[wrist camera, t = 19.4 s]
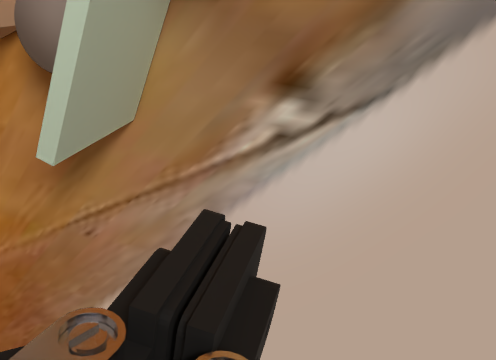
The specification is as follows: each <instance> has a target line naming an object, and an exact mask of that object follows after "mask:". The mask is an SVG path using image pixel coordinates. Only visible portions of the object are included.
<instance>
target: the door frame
mask: <svg viewBox="0 0 496 360" xmlns="http://www.w3.org/2000/svg"><path fill="white" fill-rule="evenodd" d="M15 2H16V0H0V38H3V37H4V36H6V35H8V34H10V33H12V32H14V31H16V26H15V20H14V8H15Z"/></svg>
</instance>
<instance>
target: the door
mask: <svg viewBox="0 0 496 360" xmlns="http://www.w3.org/2000/svg"><path fill="white" fill-rule="evenodd" d="M169 3H170V0H67V2H66V7H65V12H64V17H63V22H62V27H61V32H60V37H59V42H58V48H57V53H56V58H55V63H54V68H53V73H52V78H51V83H50V88H49V93H48V98H47V103H46V108H45V113H44V119H43V124H42V129H41V134H40V139H39V144H38V149H37V154H36V157H37V158H39V159H40V160H42V161H44V162H46V163H48V164H50V165H52V166H54V165H56V164H58V163H60V162H61V161H63V160H65V159H67V158H68V157H70V156H72V155H74V154H75V153H77V152H79V151H81V150H82V149H84V148H86V147H88V146H89V145H91V144H93V143H95V142H96V141H98V140H100V139H102V138H103V137H105V136H107V135H109V134H110V133H112V132H114V131H115V130H117V129H119V128H121V127H122V126H124V125H126V124H128V123H129V122H131V121H133V120H134V118H135V114H136V111H137V108H138V105H139V101H140V98H141V95H142V91H143V88H144V85H145V82H146V78H147V75H148V72H149V68H150V65H151V62H152V59H153V55H154V52H155V49H156V45H157V42H158V39H159V36H160V32H161V29H162V26H163V22H164V19H165V16H166V13H167V9H168V6H169Z"/></svg>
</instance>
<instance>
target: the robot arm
mask: <svg viewBox="0 0 496 360" xmlns="http://www.w3.org/2000/svg"><path fill="white" fill-rule="evenodd" d="M230 229H231V223H230V222H227V221H225V215H223V214H220V213H216V212H213V211H209V210H206V209H204V210H203V211H202V212H201V213H200V215H199V216H198V217H197V219H196V220H195V221H194V222H193V224H192V225H191V226H190V228H189V229H188V230H187V231H186V233H185V234H184V235H183V237H182V238H181V239H180V241H179V242H178V243H177V244H176V246H175V247H174V248H173V250H172V251H169V250H166V249H163V248H159V249H157V250H156V251H155V252H154V253H153V255H152V256H151V257H150V258H149V260H148V261H147V262H146V263H145V264H144V266H143V267H142V268H141V269H140V270H139V272H138V273H137V274H136V275H135V276H134V278H133V279H132V280H131V281H130V282H129V284H128V285H127V286H126V287H125V288H124V290H123V291H122V292H121V293H120V294H119V296H118V297H117V298H116V299H115V300H114V302H113V303H112V304H111V305H110V306H109V308H108V309H107V310H106V309H103V308H93V307H90V308H82V309H78V310H75V311H72V312H69V313H67V314H66V315H64V316H63V317H61V318H59V319H58V320H57V321H56V322H55V323H53V324H52V325H51V326H50V327H48V328H47V329H46V330H45V331H43V332H42V333H41V334H40V335H38V336H37V337H36V338H35V339H33V340H32V341H31V342H30V343H29V344H27V345H26V346H23V347H19V348H15V349H11V350H7V351H3V352H0V360H260V357H261V354H262V351H263V347H264V345H265V341H266V338H267V335H268V332H269V328H270V325H271V321H272V317H273V314H274V310H275V306H276V302H277V298H278V294H279V290H280V284H277V283H273V282H270V281H267V280H264V279H260V278H257V277H256V276H257V271H258V266H259V262H260V257H261V253H262V248H263V243H264V239H265V234H266V227H265V226H262V225H258V224H255V223H251V222H248V221H246V222H245V223H244V225H243V226H241V225H238V224H237V225H235V227H234V229H233V230H232V232H231V234H230Z"/></svg>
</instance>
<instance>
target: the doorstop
mask: <svg viewBox="0 0 496 360" xmlns="http://www.w3.org/2000/svg"><path fill="white" fill-rule="evenodd" d="M66 2H67V0H16V2H15V8H14V20H15V26H16V31H17V34H18V37H19V39H20V41H21V44H22V45H23V47H24V49H25V51H26V52H27V53H28V55H29V56H30V57H31V58H32V59H33V61H35V62H36V63H37V64H38V65H39V66H40V67H42V68H43V69H45V70H47V71H48V72H51V73H53V68H54V63H55V58H56V53H57V48H58V42H59V37H60V32H61V27H62V22H63V17H64V12H65V7H66Z"/></svg>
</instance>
